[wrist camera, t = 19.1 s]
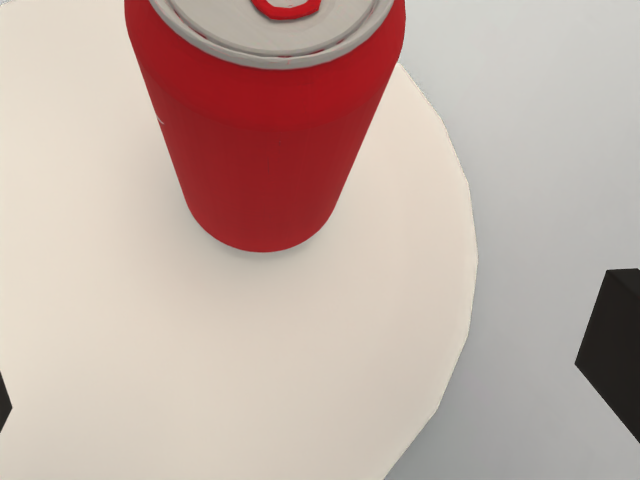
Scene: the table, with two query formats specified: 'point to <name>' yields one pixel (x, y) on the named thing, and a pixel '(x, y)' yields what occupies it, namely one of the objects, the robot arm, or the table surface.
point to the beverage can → (264, 104)
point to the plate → (209, 284)
